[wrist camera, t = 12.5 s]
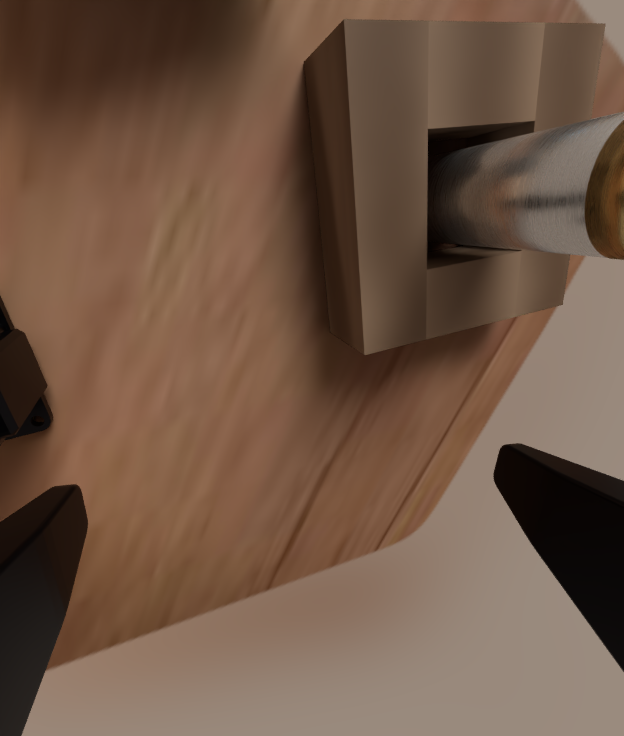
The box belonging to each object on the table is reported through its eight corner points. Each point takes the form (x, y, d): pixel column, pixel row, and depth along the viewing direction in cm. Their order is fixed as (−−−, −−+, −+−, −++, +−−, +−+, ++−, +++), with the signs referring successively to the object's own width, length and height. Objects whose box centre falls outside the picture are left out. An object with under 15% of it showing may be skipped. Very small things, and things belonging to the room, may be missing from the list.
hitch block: (330, 332, 21) (364, 355, 18) (303, 61, 16) (343, 19, 13) (504, 292, 24) (562, 304, 21) (525, 58, 20) (605, 23, 16)
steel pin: (422, 256, 21) (674, 294, 11) (375, 206, 19) (626, 193, 9) (468, 195, 21) (773, 173, 11) (424, 138, 19) (744, 41, 9)
